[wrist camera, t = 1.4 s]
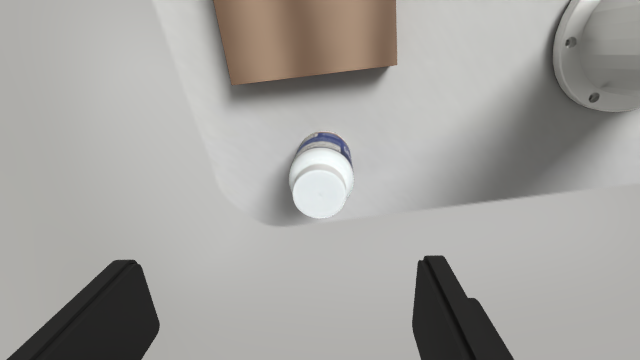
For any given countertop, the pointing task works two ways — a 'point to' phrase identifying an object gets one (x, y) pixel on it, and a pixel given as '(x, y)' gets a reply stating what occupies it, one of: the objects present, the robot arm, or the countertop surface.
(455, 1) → the countertop surface
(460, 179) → the countertop surface
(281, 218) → the countertop surface
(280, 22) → the socket block
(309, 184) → the pill bottle
